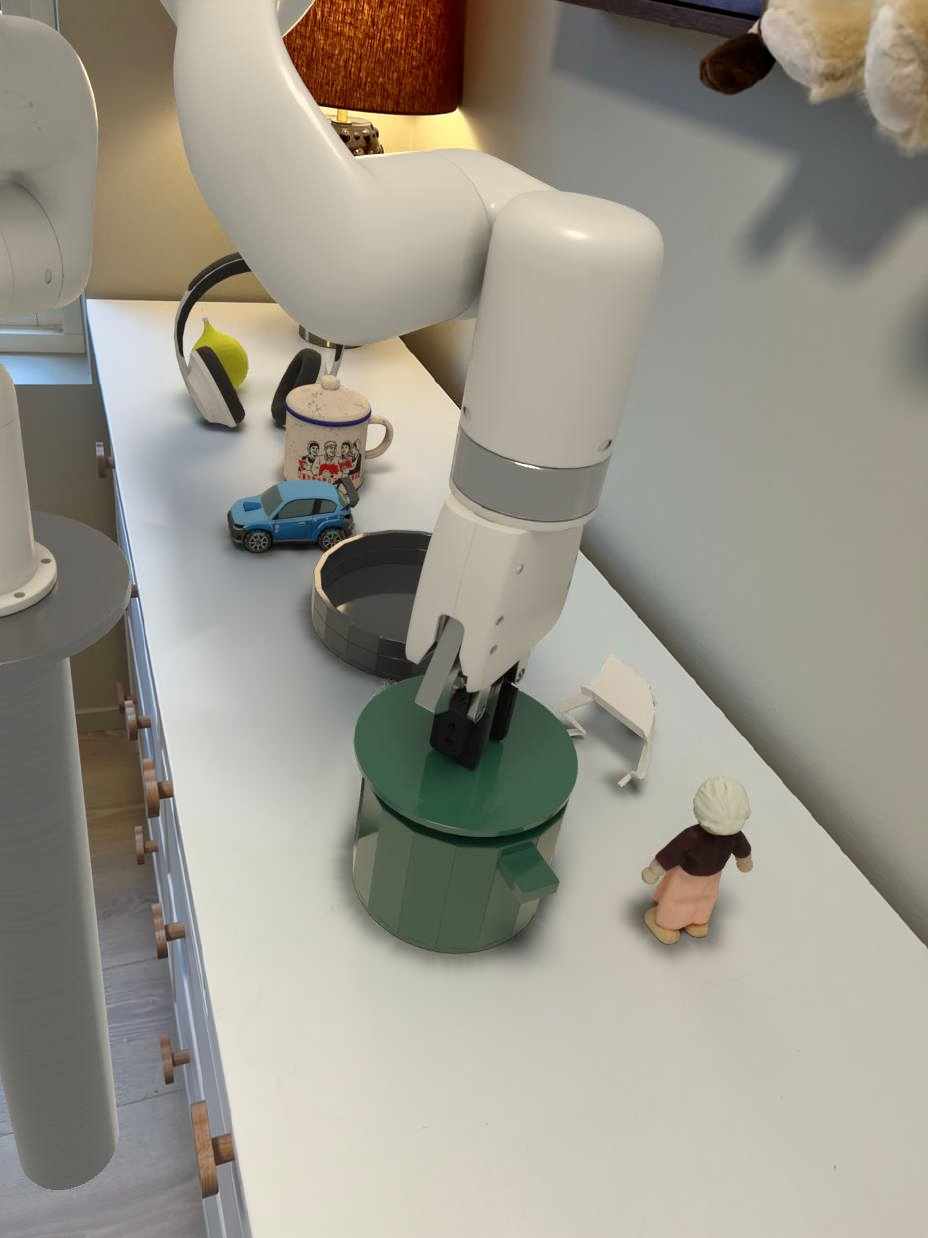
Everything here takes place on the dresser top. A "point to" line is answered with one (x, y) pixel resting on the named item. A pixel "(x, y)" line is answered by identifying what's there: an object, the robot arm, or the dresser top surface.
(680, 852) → the grandmother figurine
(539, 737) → the lid
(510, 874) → the pot
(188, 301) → the headphones
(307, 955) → the dresser top surface
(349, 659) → the pan
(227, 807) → the dresser top surface
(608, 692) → the origami figure
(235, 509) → the toy car
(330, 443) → the teacup with lid
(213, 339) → the yellow-green teardrop shape
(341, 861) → the dresser top surface
